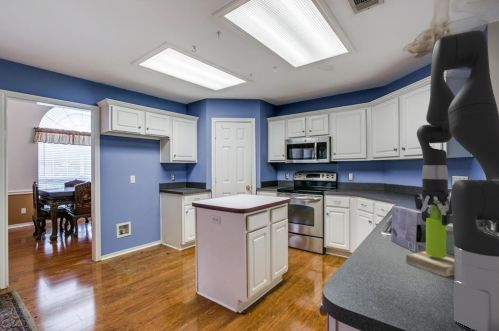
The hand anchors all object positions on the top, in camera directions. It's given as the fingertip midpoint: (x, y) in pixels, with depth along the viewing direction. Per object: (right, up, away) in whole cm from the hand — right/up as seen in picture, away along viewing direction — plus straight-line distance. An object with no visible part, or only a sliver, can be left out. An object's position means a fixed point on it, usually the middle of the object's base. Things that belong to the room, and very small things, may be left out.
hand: (435, 223), depth 88 cm
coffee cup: (+19, -17, +15) cm, 29 cm away
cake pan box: (+5, -17, +22) cm, 28 cm away
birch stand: (0, -16, 0) cm, 16 cm away
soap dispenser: (0, -12, 0) cm, 12 cm away
